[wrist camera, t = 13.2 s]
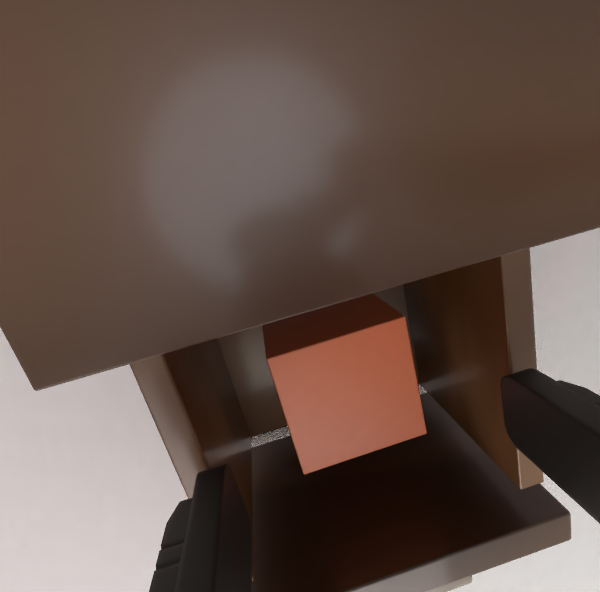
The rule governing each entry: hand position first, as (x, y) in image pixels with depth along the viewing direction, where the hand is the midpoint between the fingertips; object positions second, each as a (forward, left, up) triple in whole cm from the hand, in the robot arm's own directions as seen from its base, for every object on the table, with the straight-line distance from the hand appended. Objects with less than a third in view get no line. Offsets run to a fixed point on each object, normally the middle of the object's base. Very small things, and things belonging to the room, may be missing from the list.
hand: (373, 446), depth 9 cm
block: (0, 0, -7) cm, 7 cm away
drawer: (0, +2, -8) cm, 8 cm away
